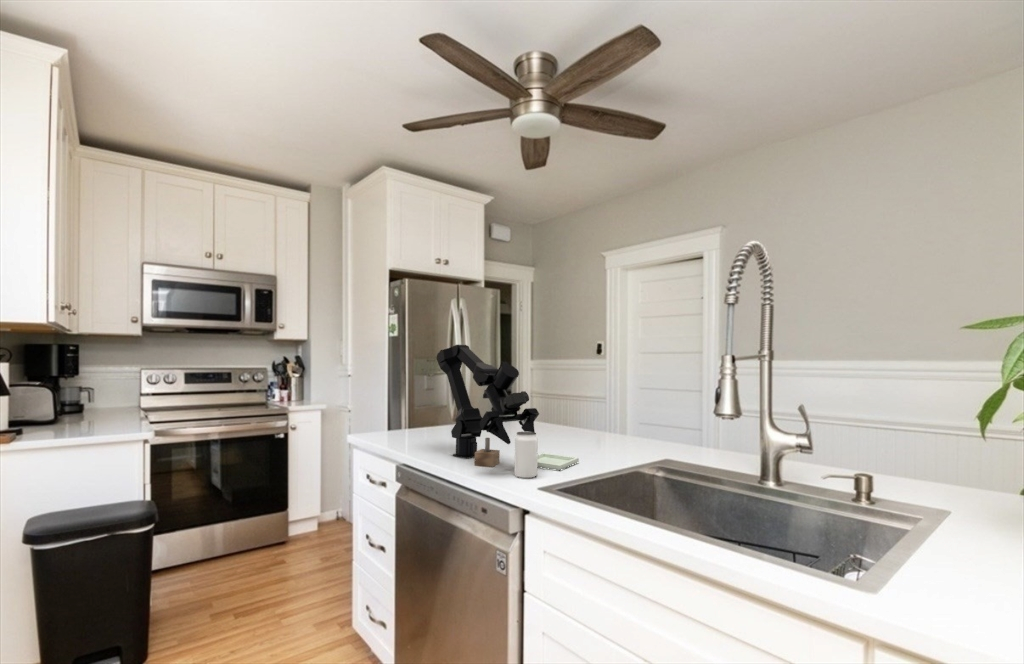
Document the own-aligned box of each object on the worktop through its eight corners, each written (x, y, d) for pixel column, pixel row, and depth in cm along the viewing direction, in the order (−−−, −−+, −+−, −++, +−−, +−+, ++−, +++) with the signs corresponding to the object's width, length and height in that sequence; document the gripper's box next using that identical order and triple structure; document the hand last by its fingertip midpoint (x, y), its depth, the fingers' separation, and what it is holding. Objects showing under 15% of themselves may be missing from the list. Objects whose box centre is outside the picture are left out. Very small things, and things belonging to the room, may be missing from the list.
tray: (522, 465, 151) (522, 459, 151) (542, 457, 162) (542, 453, 162) (560, 471, 144) (560, 465, 144) (578, 463, 155) (578, 458, 155)
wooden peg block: (474, 465, 150) (475, 438, 150) (481, 461, 155) (482, 435, 156) (492, 467, 148) (493, 440, 148) (499, 463, 153) (499, 437, 154)
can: (532, 472, 142) (533, 430, 143) (540, 477, 136) (541, 434, 137) (511, 473, 140) (512, 431, 141) (518, 479, 134) (519, 435, 135)
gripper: (485, 383, 139) (508, 426, 130) (535, 381, 151) (559, 421, 141) (470, 408, 145) (491, 451, 136) (519, 405, 157) (541, 445, 147)
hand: (522, 441), depth 140 cm, fingers open, 9 cm apart
